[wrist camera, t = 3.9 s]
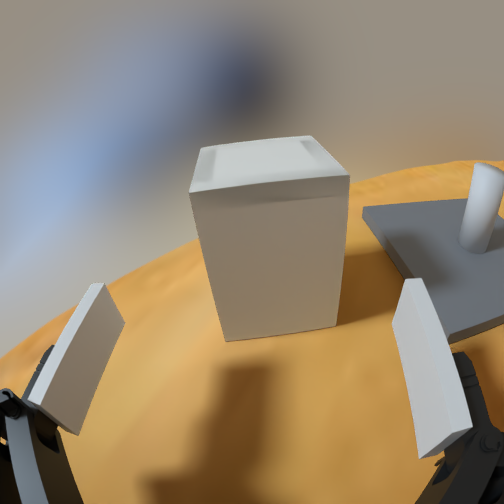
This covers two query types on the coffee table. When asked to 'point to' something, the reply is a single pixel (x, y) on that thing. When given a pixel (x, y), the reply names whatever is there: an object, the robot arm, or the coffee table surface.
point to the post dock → (451, 251)
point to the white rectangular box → (272, 234)
